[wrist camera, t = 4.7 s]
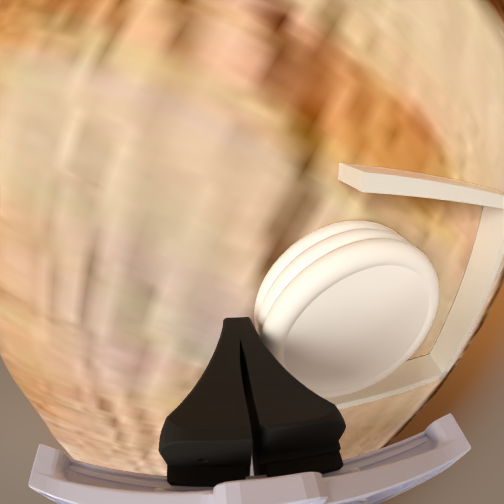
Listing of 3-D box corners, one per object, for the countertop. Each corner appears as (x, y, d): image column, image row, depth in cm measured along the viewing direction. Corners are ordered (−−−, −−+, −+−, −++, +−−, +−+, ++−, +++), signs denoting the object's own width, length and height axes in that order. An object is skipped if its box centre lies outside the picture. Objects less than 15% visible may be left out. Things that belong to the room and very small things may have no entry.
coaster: (433, 270, 15) (465, 298, 12) (339, 373, 18) (354, 410, 15) (331, 177, 12) (367, 196, 9) (218, 329, 15) (220, 376, 12)
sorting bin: (431, 358, 20) (445, 376, 18) (301, 388, 19) (309, 415, 16) (492, 188, 13) (517, 199, 11) (339, 162, 12) (364, 172, 10)
